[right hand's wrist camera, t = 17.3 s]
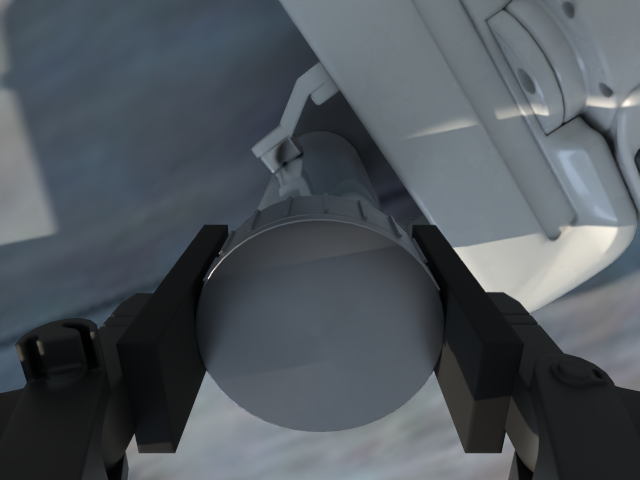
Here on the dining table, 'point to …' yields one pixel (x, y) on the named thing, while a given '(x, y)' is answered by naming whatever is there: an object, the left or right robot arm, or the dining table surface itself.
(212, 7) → the dining table surface
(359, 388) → the lid
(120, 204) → the dining table surface
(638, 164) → the left robot arm
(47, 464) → the right robot arm
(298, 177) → the bottle
